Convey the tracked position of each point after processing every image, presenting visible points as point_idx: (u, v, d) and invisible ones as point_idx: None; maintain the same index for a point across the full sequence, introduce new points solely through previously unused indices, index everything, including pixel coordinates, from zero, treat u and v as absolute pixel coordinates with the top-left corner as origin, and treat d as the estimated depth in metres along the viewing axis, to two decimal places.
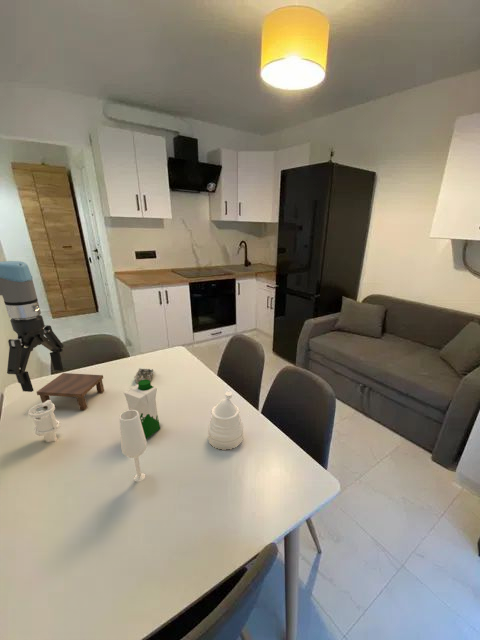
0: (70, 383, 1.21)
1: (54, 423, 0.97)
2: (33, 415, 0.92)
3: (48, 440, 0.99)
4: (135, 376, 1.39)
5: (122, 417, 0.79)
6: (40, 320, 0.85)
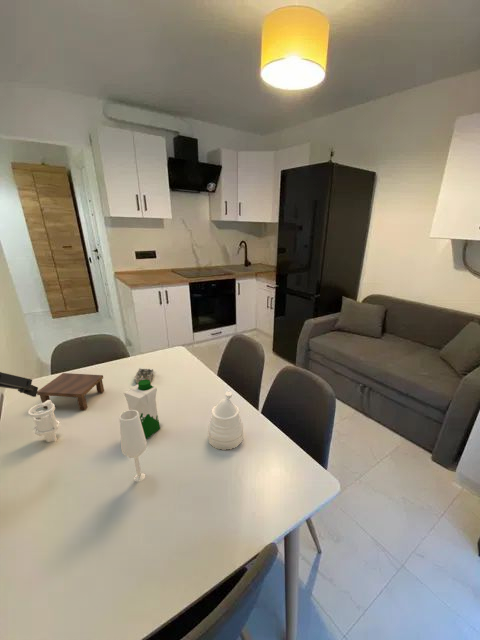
0: (70, 383, 1.21)
1: (54, 423, 0.97)
2: (33, 415, 0.92)
3: (48, 440, 0.99)
4: (135, 376, 1.39)
5: (122, 417, 0.79)
6: None
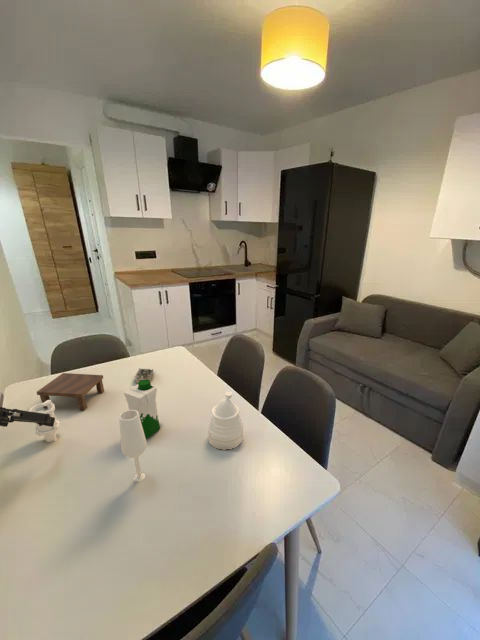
0: (70, 383, 1.21)
1: (54, 423, 0.97)
2: None
3: (48, 440, 0.99)
4: (135, 376, 1.39)
5: (122, 417, 0.79)
6: None
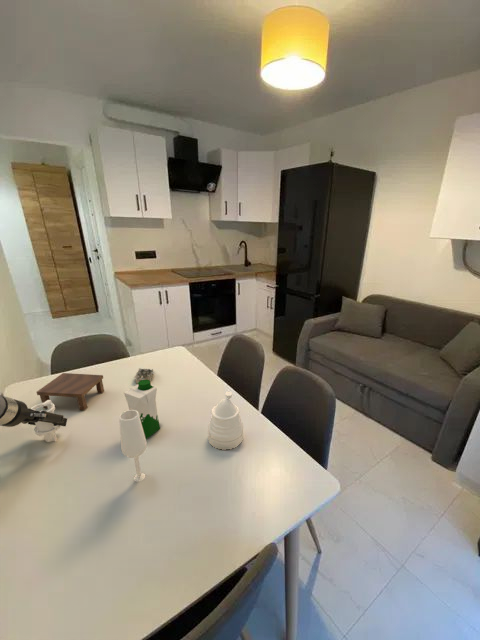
0: (70, 383, 1.21)
1: None
2: None
3: (48, 440, 0.99)
4: (135, 376, 1.39)
5: (122, 417, 0.79)
6: (4, 425, 0.80)
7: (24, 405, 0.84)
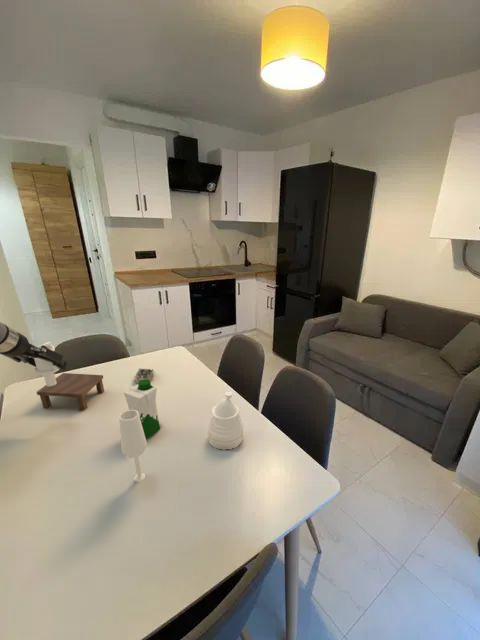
0: (70, 383, 1.21)
1: None
2: None
3: (48, 381, 1.02)
4: (135, 376, 1.39)
5: (122, 417, 0.79)
6: (6, 354, 0.83)
7: (25, 337, 0.87)
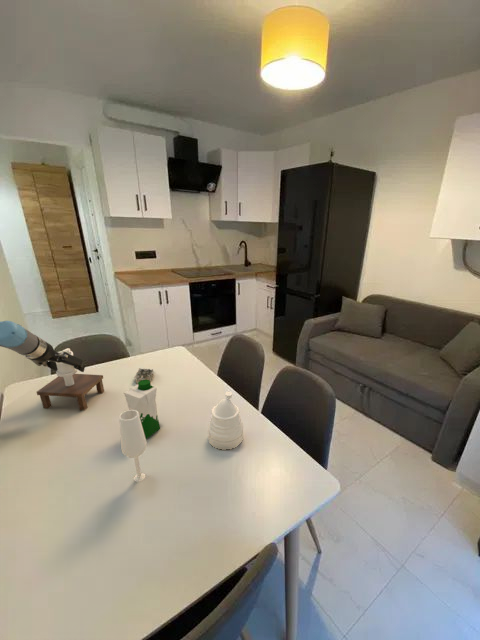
0: None
1: (72, 367, 1.17)
2: None
3: (67, 382, 1.19)
4: (135, 376, 1.39)
5: (122, 417, 0.79)
6: (36, 360, 1.00)
7: (51, 346, 1.04)
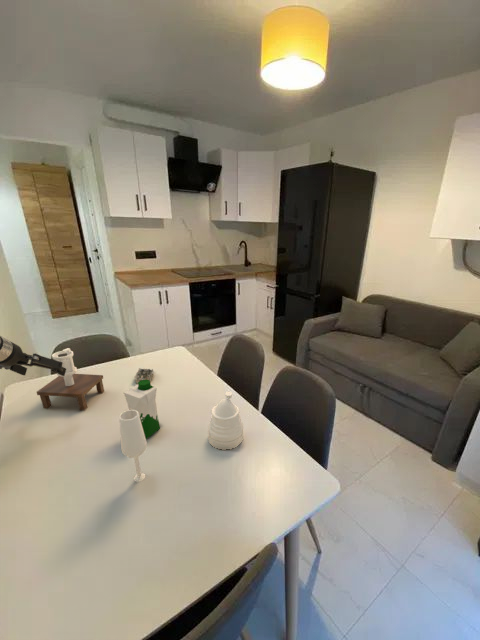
0: None
1: (73, 367, 1.17)
2: (56, 358, 1.12)
3: (67, 382, 1.19)
4: (135, 376, 1.39)
5: (122, 417, 0.79)
6: (0, 364, 0.86)
7: (18, 347, 0.89)
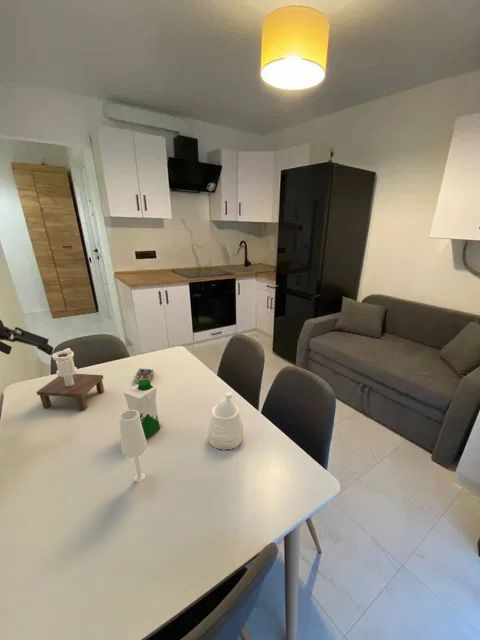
0: None
1: (73, 367, 1.17)
2: (57, 358, 1.12)
3: (67, 382, 1.19)
4: (135, 376, 1.39)
5: (122, 417, 0.79)
6: None
7: None
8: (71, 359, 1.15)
